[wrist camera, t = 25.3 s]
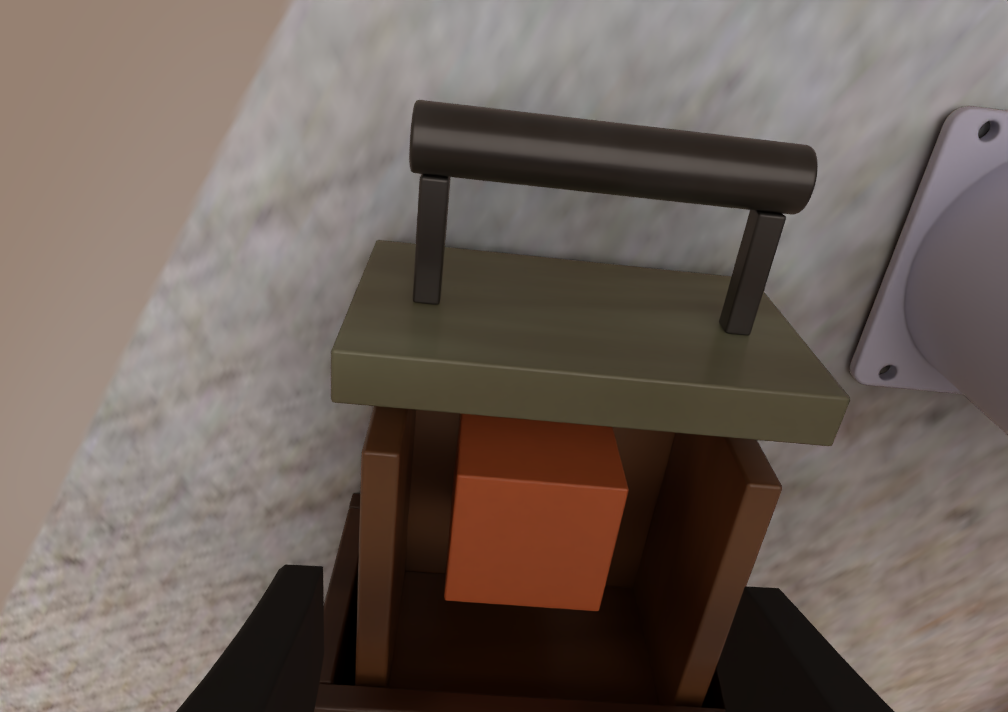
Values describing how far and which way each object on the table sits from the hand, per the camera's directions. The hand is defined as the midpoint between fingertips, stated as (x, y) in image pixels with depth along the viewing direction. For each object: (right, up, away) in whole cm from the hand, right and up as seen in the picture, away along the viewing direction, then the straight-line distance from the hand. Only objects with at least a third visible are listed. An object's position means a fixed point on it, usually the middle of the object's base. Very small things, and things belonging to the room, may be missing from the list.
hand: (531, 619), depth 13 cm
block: (0, +2, +9) cm, 9 cm away
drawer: (+1, +4, +9) cm, 10 cm away
